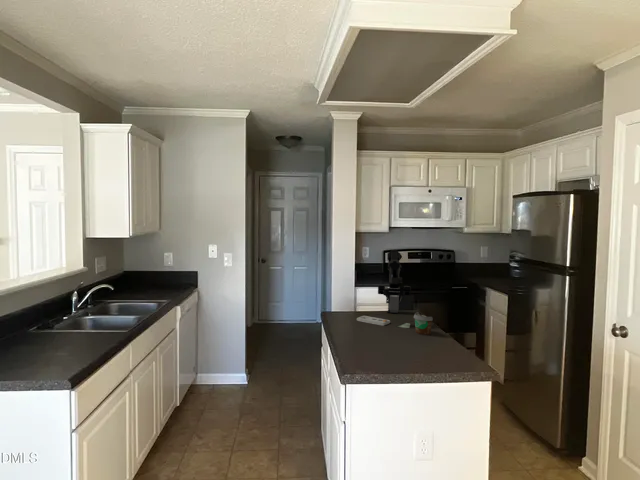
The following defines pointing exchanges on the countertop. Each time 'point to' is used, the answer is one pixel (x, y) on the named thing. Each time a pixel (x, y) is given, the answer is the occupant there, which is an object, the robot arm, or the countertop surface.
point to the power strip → (373, 320)
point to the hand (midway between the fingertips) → (394, 302)
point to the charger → (394, 303)
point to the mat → (404, 325)
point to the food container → (423, 324)
